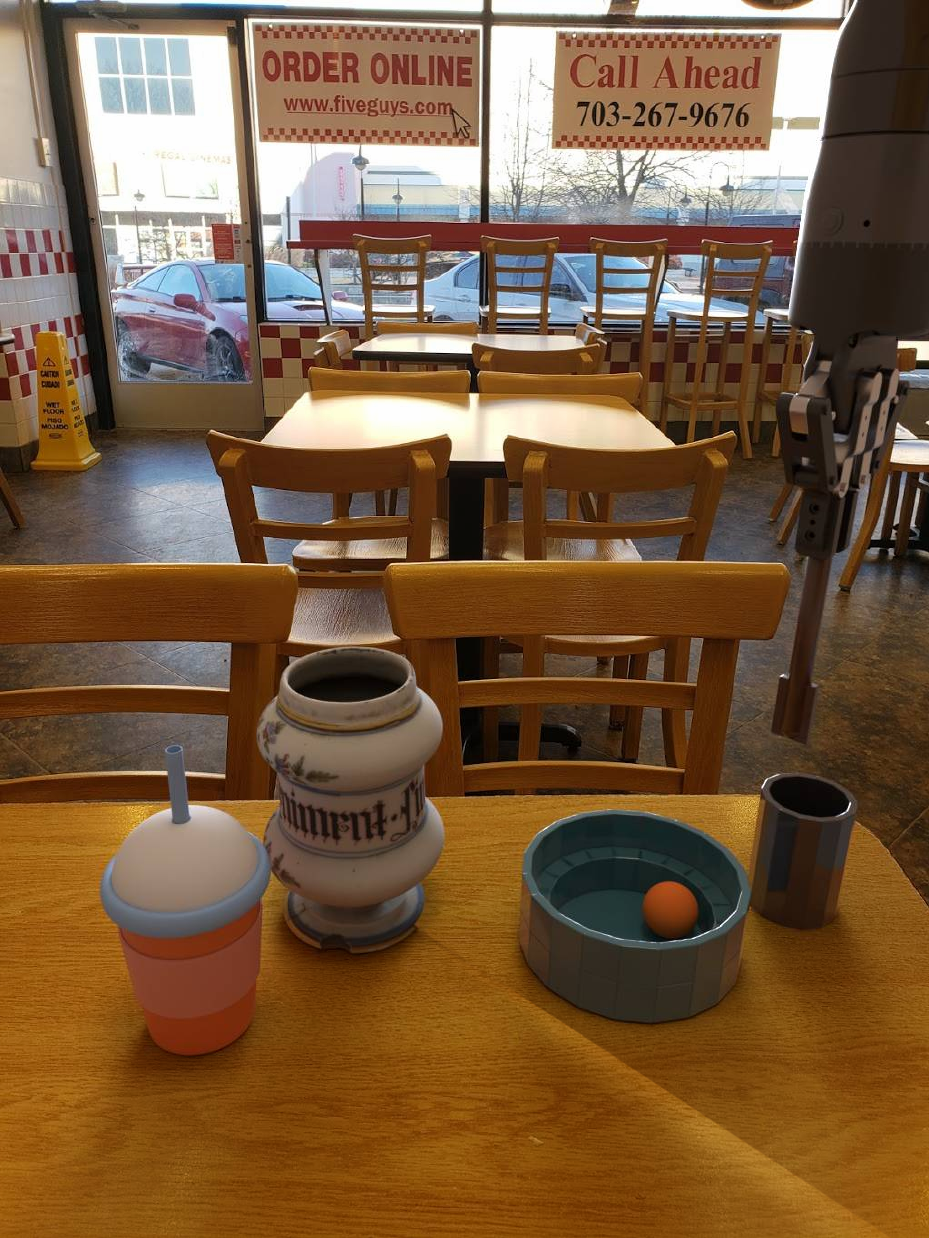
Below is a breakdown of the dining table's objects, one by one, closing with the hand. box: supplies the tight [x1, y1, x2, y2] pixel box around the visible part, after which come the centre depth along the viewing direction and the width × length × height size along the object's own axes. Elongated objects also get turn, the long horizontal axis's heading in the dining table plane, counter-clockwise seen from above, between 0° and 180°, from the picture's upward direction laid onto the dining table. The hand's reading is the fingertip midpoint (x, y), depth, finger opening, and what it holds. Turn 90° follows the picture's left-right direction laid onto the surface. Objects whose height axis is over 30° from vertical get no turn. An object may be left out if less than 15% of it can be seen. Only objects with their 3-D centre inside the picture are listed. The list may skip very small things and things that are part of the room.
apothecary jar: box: [256, 646, 445, 955], centre depth 62 cm, size 12×12×18 cm
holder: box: [747, 772, 859, 931], centre depth 64 cm, size 6×6×9 cm
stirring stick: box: [770, 556, 834, 746], centre depth 57 cm, size 1×2×17 cm, turn 47°
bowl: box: [518, 808, 751, 1024], centre depth 61 cm, size 14×14×6 cm
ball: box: [643, 881, 698, 939], centre depth 62 cm, size 4×4×4 cm
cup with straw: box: [99, 744, 272, 1056], centre depth 52 cm, size 9×9×18 cm
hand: (821, 551), depth 56 cm, fingers closed on stirring stick, 1 cm apart
